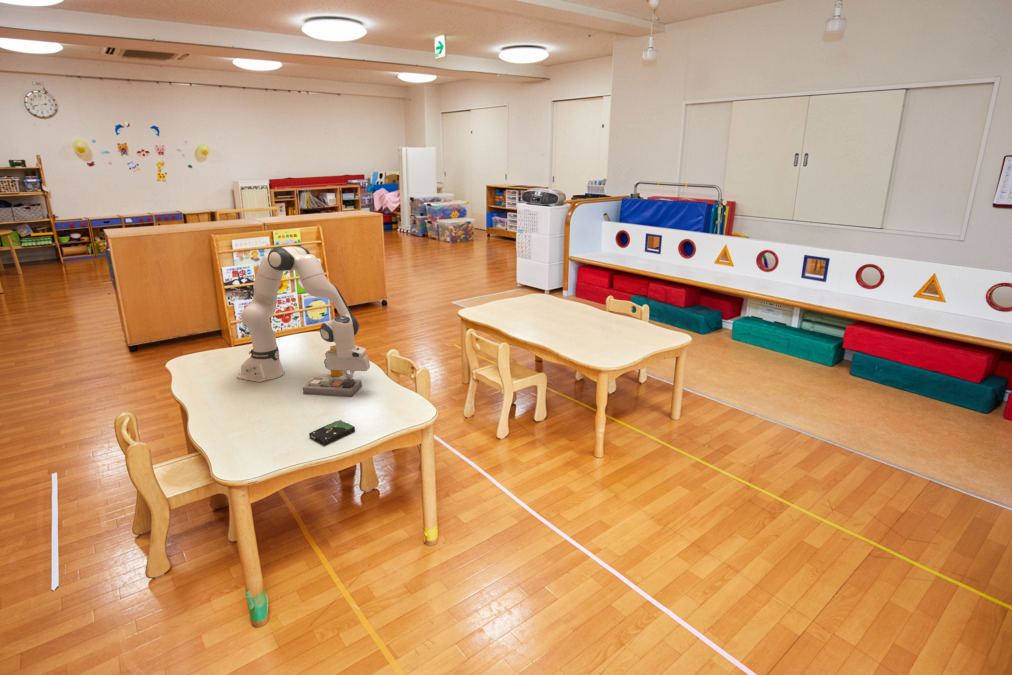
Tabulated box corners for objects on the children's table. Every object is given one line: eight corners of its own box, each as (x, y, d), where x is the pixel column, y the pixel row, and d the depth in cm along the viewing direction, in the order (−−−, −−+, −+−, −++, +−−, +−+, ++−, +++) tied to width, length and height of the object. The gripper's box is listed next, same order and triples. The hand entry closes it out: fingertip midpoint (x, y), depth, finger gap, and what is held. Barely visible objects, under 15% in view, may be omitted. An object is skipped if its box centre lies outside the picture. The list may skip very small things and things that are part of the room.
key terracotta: (332, 388, 261) (332, 384, 260) (336, 385, 265) (335, 381, 264) (340, 389, 261) (339, 384, 260) (343, 386, 264) (343, 381, 263)
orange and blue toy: (352, 370, 286) (349, 343, 280) (345, 379, 276) (342, 350, 271) (329, 369, 287) (326, 342, 282) (321, 378, 277) (317, 350, 272)
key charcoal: (343, 386, 260) (342, 382, 259) (346, 383, 264) (346, 378, 263) (351, 387, 259) (350, 382, 259) (354, 383, 263) (353, 379, 262)
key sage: (321, 385, 262) (320, 380, 261) (324, 382, 265) (324, 377, 264) (328, 385, 261) (328, 381, 260) (332, 382, 265) (331, 377, 264)
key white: (310, 387, 263) (310, 383, 262) (314, 384, 266) (313, 379, 265) (318, 388, 262) (317, 383, 261) (321, 384, 266) (321, 380, 265)
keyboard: (303, 393, 260) (302, 387, 259) (315, 383, 271) (314, 377, 270) (352, 397, 256) (351, 390, 255) (362, 386, 268) (361, 380, 267)
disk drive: (324, 447, 216) (355, 432, 227) (323, 441, 215) (355, 426, 226) (309, 439, 222) (340, 424, 233) (308, 433, 221) (339, 418, 232)
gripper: (321, 352, 254) (325, 380, 259) (364, 354, 252) (367, 382, 256) (327, 347, 260) (331, 374, 265) (369, 349, 258) (372, 376, 262)
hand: (349, 378), depth 261 cm, fingers closed
